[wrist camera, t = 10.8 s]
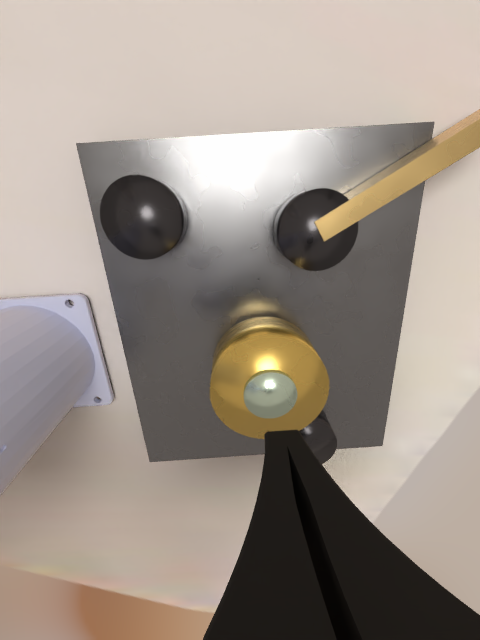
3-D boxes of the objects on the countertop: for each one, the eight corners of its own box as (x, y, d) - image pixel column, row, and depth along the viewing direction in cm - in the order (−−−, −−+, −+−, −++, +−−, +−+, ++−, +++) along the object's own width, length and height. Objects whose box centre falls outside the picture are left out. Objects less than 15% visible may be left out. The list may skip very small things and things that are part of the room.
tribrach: (155, 445, 22) (134, 507, 17) (90, 150, 15) (27, 121, 10) (372, 431, 22) (409, 488, 17) (414, 130, 15) (497, 93, 10)
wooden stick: (293, 275, 16) (302, 285, 14) (260, 217, 14) (265, 218, 12) (506, 148, 14) (555, 137, 12) (488, 69, 13) (539, 40, 10)
